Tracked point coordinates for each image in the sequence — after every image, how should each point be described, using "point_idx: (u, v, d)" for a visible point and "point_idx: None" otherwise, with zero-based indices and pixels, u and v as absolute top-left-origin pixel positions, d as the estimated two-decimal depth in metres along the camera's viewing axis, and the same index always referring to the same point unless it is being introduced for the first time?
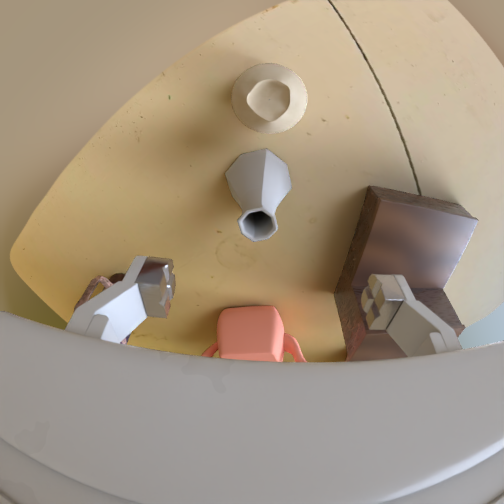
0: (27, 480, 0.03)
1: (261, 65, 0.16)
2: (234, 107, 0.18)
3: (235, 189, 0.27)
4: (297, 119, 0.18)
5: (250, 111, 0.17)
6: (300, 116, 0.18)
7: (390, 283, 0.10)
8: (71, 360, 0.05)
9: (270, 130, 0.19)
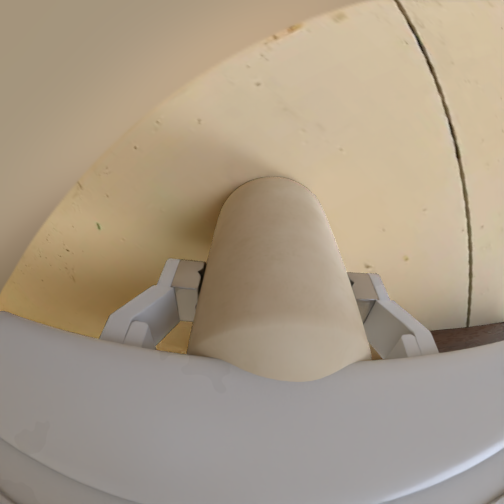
0: (27, 480, 0.03)
1: (261, 330, 0.06)
2: None
3: None
4: None
5: None
6: None
7: (363, 282, 0.10)
8: (71, 360, 0.05)
9: None
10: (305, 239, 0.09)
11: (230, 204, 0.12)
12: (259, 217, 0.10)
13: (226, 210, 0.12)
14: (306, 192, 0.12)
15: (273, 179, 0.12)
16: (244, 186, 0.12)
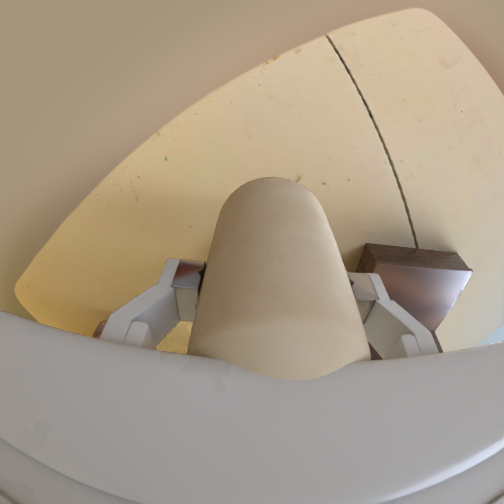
0: (27, 480, 0.03)
1: (261, 330, 0.06)
2: None
3: None
4: None
5: None
6: None
7: (363, 282, 0.10)
8: (71, 360, 0.05)
9: None
10: (305, 239, 0.09)
11: (230, 204, 0.12)
12: (259, 217, 0.10)
13: (226, 210, 0.12)
14: (306, 193, 0.12)
15: (273, 179, 0.12)
16: (244, 186, 0.13)
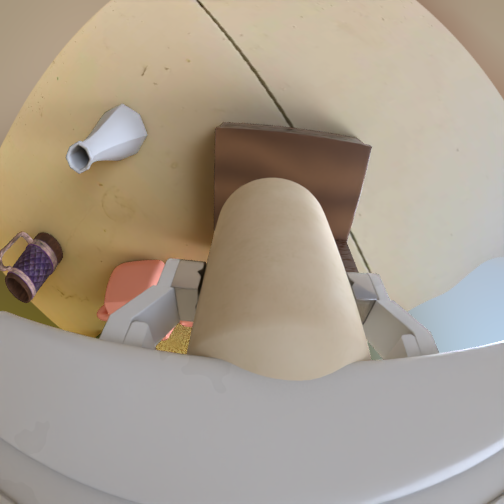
0: (27, 480, 0.03)
1: (260, 332, 0.06)
2: None
3: None
4: None
5: None
6: None
7: (363, 282, 0.10)
8: (71, 360, 0.05)
9: None
10: (305, 240, 0.09)
11: (230, 205, 0.12)
12: (258, 218, 0.10)
13: (226, 211, 0.12)
14: (306, 193, 0.12)
15: (273, 180, 0.12)
16: (244, 187, 0.13)
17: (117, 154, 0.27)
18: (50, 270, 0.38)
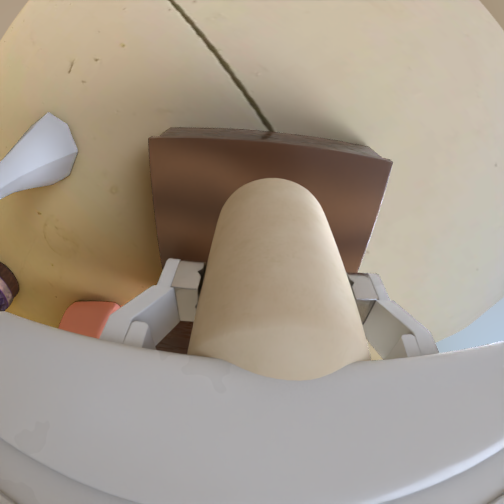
0: (27, 480, 0.03)
1: (260, 332, 0.06)
2: None
3: None
4: None
5: None
6: None
7: (363, 282, 0.10)
8: (71, 360, 0.05)
9: None
10: (305, 241, 0.09)
11: (230, 205, 0.12)
12: (258, 218, 0.10)
13: (226, 211, 0.12)
14: (306, 194, 0.12)
15: (273, 180, 0.12)
16: (244, 187, 0.13)
17: (38, 181, 0.18)
18: (5, 305, 0.28)
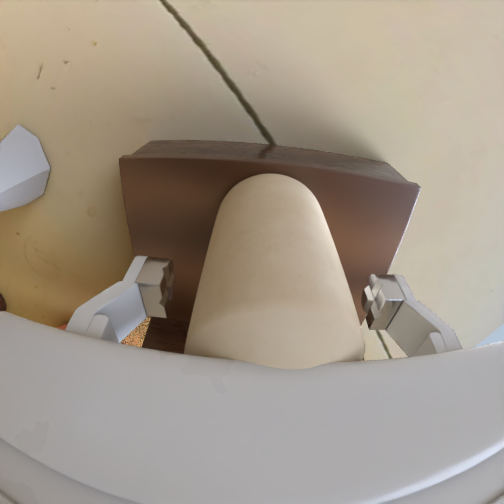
0: (27, 480, 0.03)
1: (256, 315, 0.06)
2: None
3: None
4: None
5: None
6: None
7: (390, 283, 0.10)
8: (71, 360, 0.05)
9: None
10: (300, 231, 0.09)
11: (229, 200, 0.12)
12: (256, 211, 0.10)
13: (225, 205, 0.12)
14: (303, 188, 0.12)
15: (271, 175, 0.13)
16: (242, 182, 0.13)
17: (7, 205, 0.14)
18: None
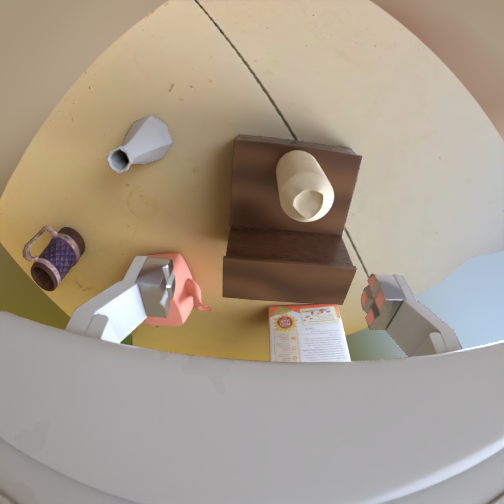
0: (27, 480, 0.03)
1: (303, 174, 0.25)
2: (281, 203, 0.27)
3: None
4: (325, 213, 0.28)
5: (294, 210, 0.27)
6: (327, 211, 0.28)
7: (390, 283, 0.10)
8: (71, 360, 0.05)
9: (306, 221, 0.28)
10: (311, 163, 0.28)
11: (284, 158, 0.31)
12: (297, 158, 0.29)
13: (282, 160, 0.31)
14: (311, 155, 0.32)
15: (298, 150, 0.32)
16: (288, 153, 0.32)
17: (148, 158, 0.34)
18: (73, 262, 0.44)
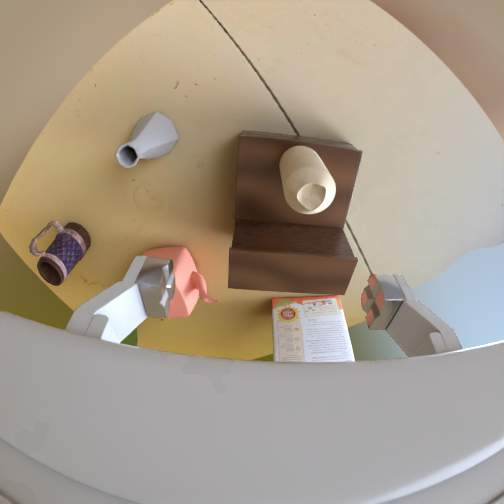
0: (27, 480, 0.03)
1: (306, 168, 0.26)
2: (286, 196, 0.28)
3: None
4: (327, 205, 0.29)
5: (298, 202, 0.28)
6: (330, 203, 0.29)
7: (390, 283, 0.10)
8: (71, 360, 0.05)
9: (309, 213, 0.29)
10: (314, 158, 0.29)
11: (287, 153, 0.32)
12: (300, 153, 0.30)
13: (286, 155, 0.32)
14: (313, 150, 0.33)
15: (301, 146, 0.33)
16: (291, 148, 0.33)
17: (154, 154, 0.35)
18: (80, 256, 0.45)
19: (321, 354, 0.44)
